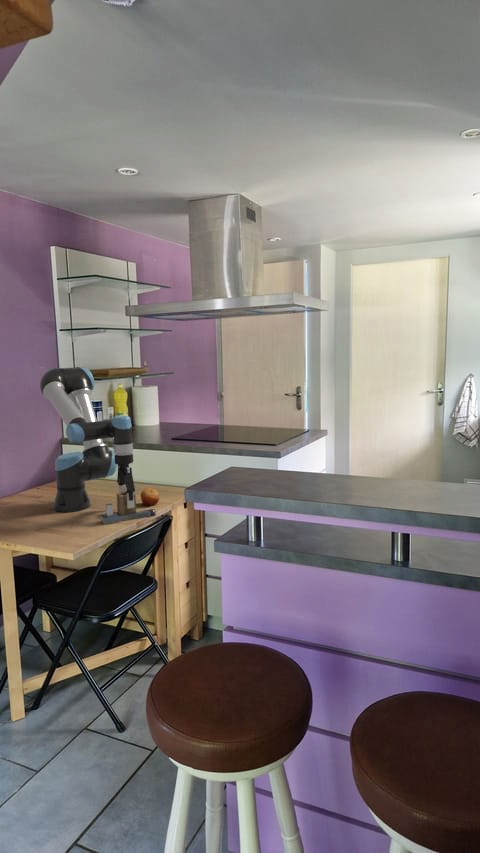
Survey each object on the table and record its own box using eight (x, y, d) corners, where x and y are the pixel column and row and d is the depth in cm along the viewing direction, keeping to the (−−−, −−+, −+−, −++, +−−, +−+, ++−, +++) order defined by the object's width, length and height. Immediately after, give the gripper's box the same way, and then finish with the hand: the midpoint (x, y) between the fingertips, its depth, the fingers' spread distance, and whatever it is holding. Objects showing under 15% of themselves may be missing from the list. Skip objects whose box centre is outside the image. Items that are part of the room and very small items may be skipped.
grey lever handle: (100, 521, 214) (99, 504, 213) (153, 512, 223) (152, 496, 222) (103, 524, 209) (102, 507, 208) (157, 516, 218) (156, 499, 217)
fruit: (149, 496, 243) (154, 483, 239) (159, 508, 239) (164, 494, 235) (134, 500, 237) (139, 486, 233) (143, 512, 233) (148, 498, 229)
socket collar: (117, 511, 226) (116, 493, 225) (132, 509, 229) (131, 491, 228) (121, 515, 221) (119, 496, 219) (136, 513, 223) (135, 494, 222)
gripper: (108, 450, 231) (111, 498, 233) (121, 459, 208) (125, 512, 211) (125, 448, 234) (128, 496, 237) (140, 457, 212) (143, 509, 214)
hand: (127, 504), depth 224 cm, fingers open, 13 cm apart
